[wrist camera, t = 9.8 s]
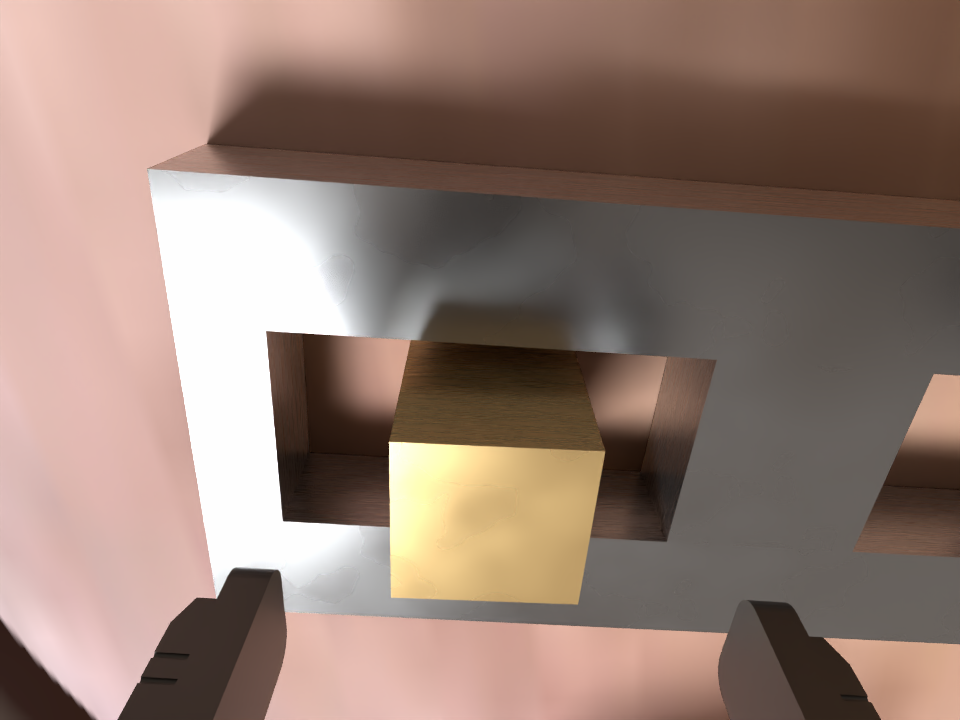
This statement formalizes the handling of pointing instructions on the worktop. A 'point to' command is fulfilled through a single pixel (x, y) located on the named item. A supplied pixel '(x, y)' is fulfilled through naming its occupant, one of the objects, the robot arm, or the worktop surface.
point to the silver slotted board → (594, 328)
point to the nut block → (492, 474)
